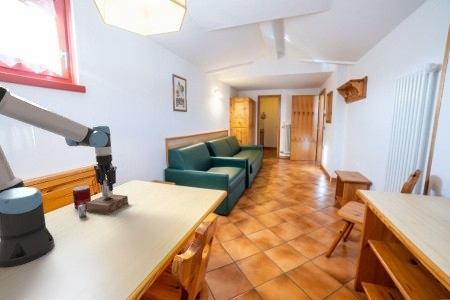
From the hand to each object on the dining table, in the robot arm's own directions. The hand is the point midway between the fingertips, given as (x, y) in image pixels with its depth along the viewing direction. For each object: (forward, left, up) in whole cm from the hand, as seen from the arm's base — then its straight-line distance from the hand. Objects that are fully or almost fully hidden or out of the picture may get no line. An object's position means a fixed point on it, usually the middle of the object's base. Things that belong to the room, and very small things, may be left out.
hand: (107, 195), depth 109 cm
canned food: (-2, +16, -7) cm, 18 cm away
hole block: (0, 0, -7) cm, 7 cm away
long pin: (0, 0, -5) cm, 5 cm away
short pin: (-12, +4, -7) cm, 15 cm away
